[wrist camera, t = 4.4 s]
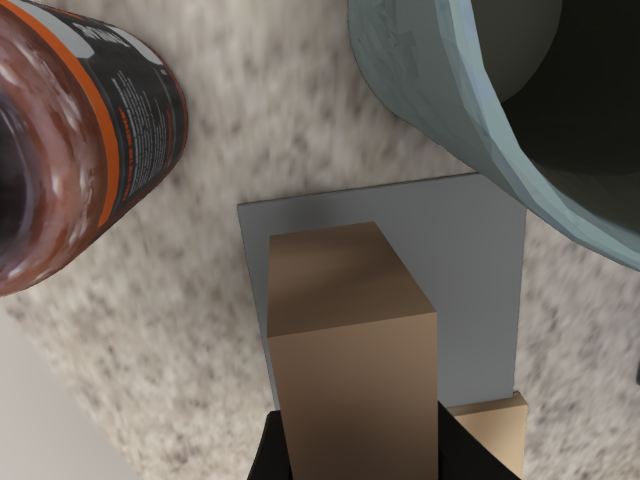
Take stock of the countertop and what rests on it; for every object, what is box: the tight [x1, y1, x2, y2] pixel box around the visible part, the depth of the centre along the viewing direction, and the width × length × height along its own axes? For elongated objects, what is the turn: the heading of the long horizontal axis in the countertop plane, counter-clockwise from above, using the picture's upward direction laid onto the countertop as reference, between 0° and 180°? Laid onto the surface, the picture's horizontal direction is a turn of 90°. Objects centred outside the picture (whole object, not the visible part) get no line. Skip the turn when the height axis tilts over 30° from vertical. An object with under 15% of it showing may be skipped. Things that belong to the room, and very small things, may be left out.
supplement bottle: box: [0, 0, 188, 297], centre depth 10 cm, size 6×6×11 cm
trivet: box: [446, 392, 528, 480], centre depth 23 cm, size 6×10×1 cm, turn 6°
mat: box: [237, 172, 527, 410], centre depth 21 cm, size 12×21×1 cm, turn 6°
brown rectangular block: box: [267, 221, 438, 480], centre depth 12 cm, size 3×10×5 cm, turn 6°
